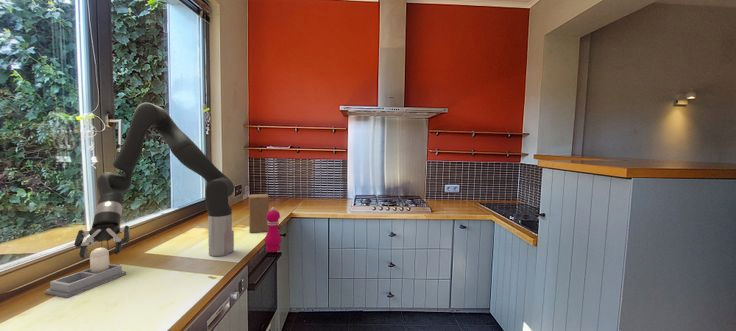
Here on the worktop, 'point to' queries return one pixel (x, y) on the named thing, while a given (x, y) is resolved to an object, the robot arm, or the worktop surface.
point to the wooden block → (258, 213)
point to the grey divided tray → (83, 281)
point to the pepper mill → (273, 231)
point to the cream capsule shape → (99, 260)
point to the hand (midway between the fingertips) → (100, 255)
